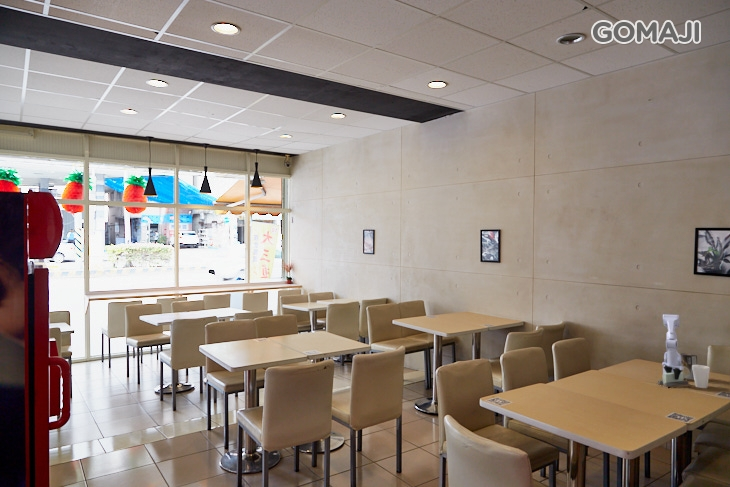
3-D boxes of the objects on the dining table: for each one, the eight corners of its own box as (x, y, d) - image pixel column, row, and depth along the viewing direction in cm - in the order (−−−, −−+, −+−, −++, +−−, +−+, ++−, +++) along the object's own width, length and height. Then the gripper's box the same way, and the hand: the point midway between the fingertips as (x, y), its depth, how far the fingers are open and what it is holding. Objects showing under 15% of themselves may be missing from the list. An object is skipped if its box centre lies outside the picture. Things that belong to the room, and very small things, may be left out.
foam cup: (710, 389, 295) (709, 369, 296) (692, 387, 301) (691, 367, 301) (710, 385, 303) (709, 366, 303) (693, 383, 309) (692, 364, 309)
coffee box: (698, 378, 320) (697, 355, 320) (693, 380, 317) (692, 356, 318) (684, 375, 328) (683, 352, 329) (679, 376, 326) (678, 354, 326)
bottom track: (656, 384, 310) (656, 380, 310) (678, 381, 314) (678, 378, 314) (668, 388, 301) (668, 384, 301) (690, 385, 305) (690, 381, 305)
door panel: (663, 384, 307) (662, 373, 307) (680, 382, 310) (679, 371, 310) (666, 385, 304) (665, 374, 305) (683, 383, 308) (683, 372, 308)
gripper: (658, 356, 314) (658, 376, 314) (677, 360, 300) (678, 381, 299) (666, 355, 315) (667, 375, 315) (685, 359, 301) (686, 380, 301)
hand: (673, 378), depth 307 cm, fingers open, 5 cm apart
